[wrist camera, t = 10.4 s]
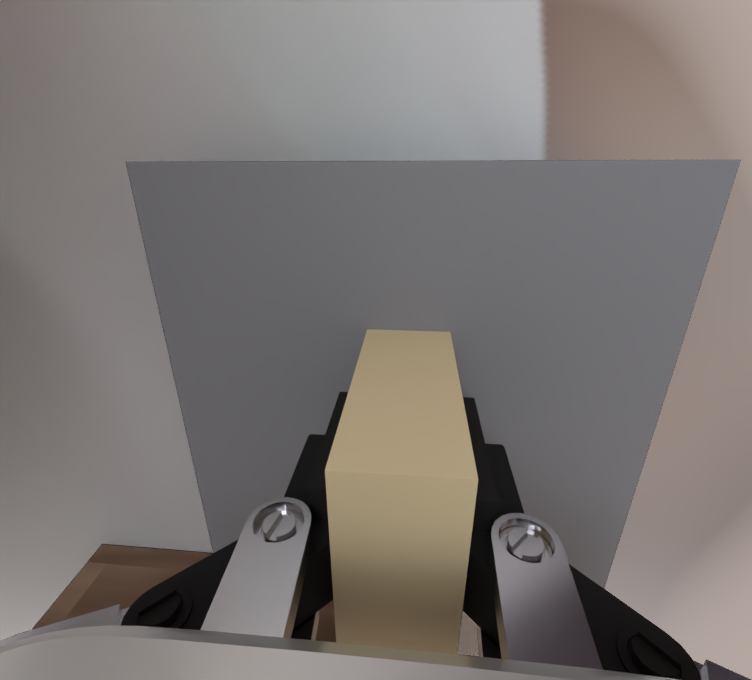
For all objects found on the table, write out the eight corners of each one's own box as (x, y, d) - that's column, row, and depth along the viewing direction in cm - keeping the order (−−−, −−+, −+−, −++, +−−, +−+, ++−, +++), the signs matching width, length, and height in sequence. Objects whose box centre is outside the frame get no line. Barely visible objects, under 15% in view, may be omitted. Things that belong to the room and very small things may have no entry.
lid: (148, 161, 12) (-176, 163, 5) (712, 159, 10) (1179, 158, 4) (226, 543, 18) (118, 760, 11) (591, 572, 16) (701, 835, 10)
